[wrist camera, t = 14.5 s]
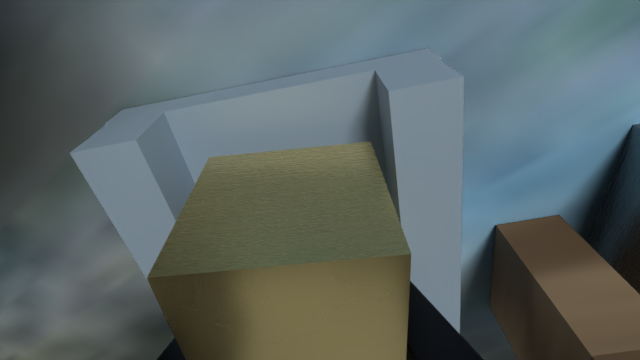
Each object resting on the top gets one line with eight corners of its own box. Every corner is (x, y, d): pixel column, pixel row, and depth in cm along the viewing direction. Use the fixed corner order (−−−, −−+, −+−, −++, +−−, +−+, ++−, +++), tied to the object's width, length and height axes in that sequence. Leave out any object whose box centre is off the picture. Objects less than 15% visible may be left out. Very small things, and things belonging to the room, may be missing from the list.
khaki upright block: (209, 157, 8) (147, 277, 5) (370, 141, 8) (411, 253, 5) (263, 350, 12) (247, 490, 8) (375, 340, 11) (399, 478, 8)
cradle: (122, 109, 9) (64, 153, 7) (429, 48, 9) (470, 75, 7) (230, 327, 14) (215, 396, 12) (436, 296, 13) (462, 361, 11)
